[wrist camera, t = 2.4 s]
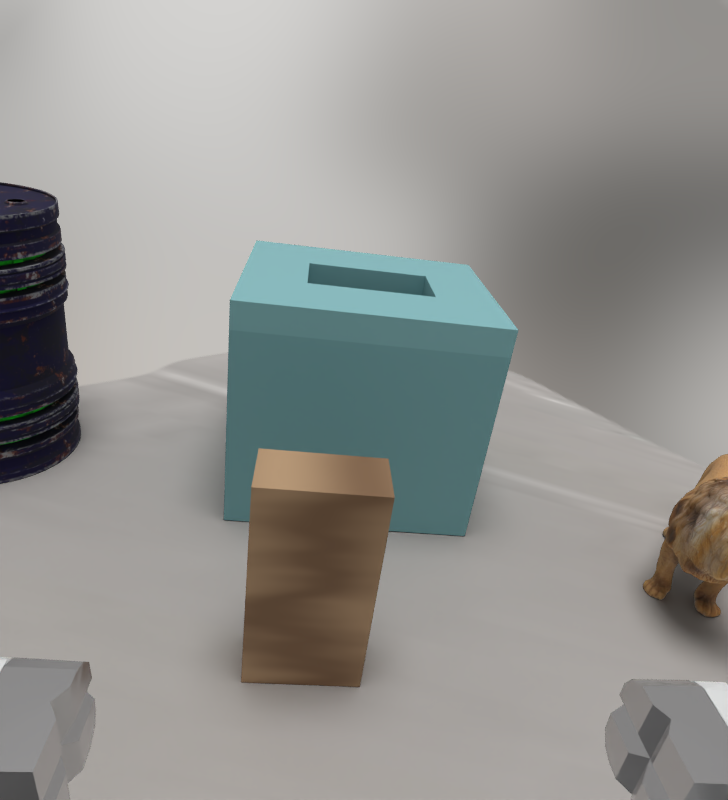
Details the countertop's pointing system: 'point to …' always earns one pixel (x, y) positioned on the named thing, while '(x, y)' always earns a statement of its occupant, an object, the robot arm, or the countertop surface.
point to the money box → (366, 373)
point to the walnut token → (313, 565)
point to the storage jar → (34, 337)
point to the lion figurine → (697, 540)
